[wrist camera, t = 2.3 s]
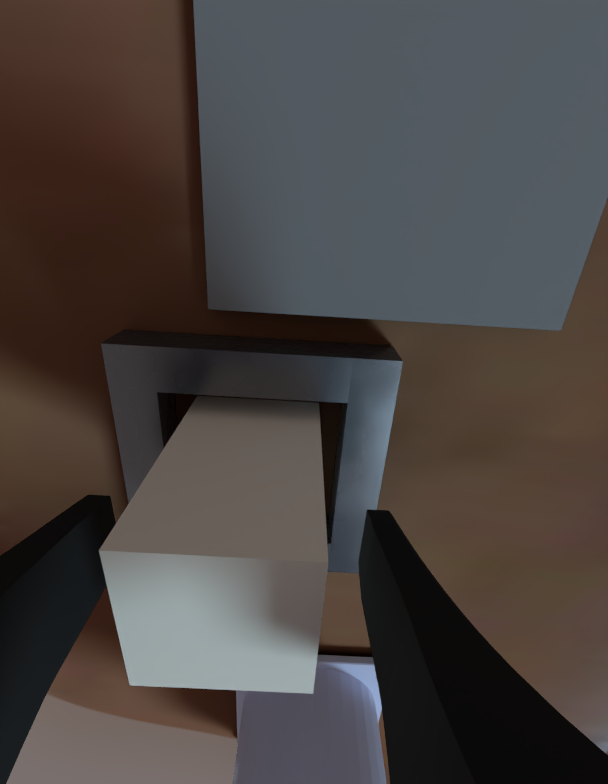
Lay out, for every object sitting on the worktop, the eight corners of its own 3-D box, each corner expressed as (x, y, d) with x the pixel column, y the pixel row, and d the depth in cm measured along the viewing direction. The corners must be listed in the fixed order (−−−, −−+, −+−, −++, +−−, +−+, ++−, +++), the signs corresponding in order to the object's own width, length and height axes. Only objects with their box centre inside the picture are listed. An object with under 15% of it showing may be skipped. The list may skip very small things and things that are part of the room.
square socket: (360, 544, 16) (365, 573, 15) (153, 533, 16) (138, 561, 15) (392, 345, 13) (402, 360, 11) (123, 330, 13) (100, 343, 11)
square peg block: (311, 498, 15) (313, 693, 9) (203, 493, 15) (130, 685, 9) (319, 402, 14) (328, 562, 7) (197, 395, 14) (98, 550, 7)
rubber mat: (549, 325, 12) (560, 330, 12) (212, 305, 12) (207, 309, 12) (726, -200, 8) (757, -232, 7) (189, -243, 8) (179, -281, 7)
